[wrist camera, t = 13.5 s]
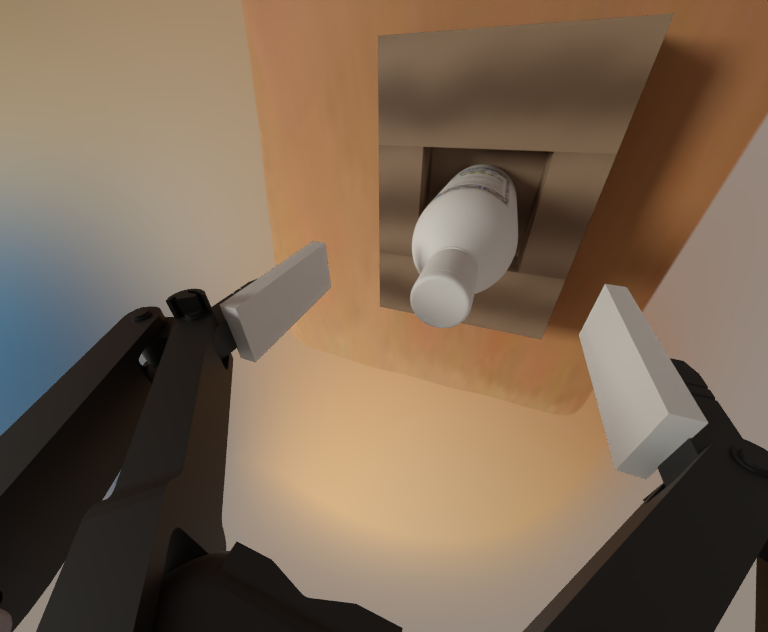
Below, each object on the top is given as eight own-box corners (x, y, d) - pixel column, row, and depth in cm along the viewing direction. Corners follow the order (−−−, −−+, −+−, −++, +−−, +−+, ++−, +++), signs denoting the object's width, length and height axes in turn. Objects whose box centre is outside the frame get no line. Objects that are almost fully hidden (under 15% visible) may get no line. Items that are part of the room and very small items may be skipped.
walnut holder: (398, 47, 25) (378, 35, 22) (643, 31, 20) (674, 13, 16) (393, 287, 39) (380, 306, 35) (538, 313, 34) (541, 339, 30)
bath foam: (432, 184, 30) (345, 263, 14) (503, 148, 26) (489, 200, 10) (458, 245, 32) (406, 369, 17) (525, 220, 28) (540, 348, 13)
